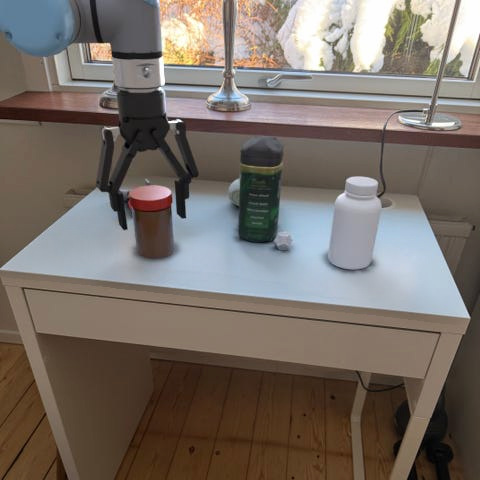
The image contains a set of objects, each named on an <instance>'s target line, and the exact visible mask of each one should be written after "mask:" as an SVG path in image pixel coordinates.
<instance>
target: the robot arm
mask: <svg viewBox="0 0 480 480" xmlns="http://www.w3.org/2000/svg"><path fill="white" fill-rule="evenodd" d="M161 23H162V22H161V6H160V0H0V32H1V33H2V34H3V37H5V38H6V40H7V41H8V42H9V43H10V44H11V45H12V46H13V47H14V48H15V49H17V50H18V51H19V52H21V53H23V54H25V55H28V56H31V57H37V58H49V57H51V56H57V55H59V54H61V53H62V52H63V51H65V50H66V49H67V48H68V47H69V46H71V45H73V44H101V45H103V44H109V47H110V49H111V51H110V52H111V58H112V60H111V61H112V70H113V79H114V85H115V86H116V87H117V88H118V89H117V90H116V92H115V94H116V95H115V96H116V102H117V110H118V118H119V121H118V125H117V126H113V127H107V126H105V125H104V126H101V128H100V135H101V141H102V143H101V149H100V155H99V162H98V168H97V175H96V180H95V186H96V187H97V188H98V190H99V192H101V193H108V197H109V204H110V208H111V209H112V210H113V212H114V213H117V220H118V221H117V222H118V226H120V228H121V229H122V230H123V231H128V229H129V228H128V222H127V221H128V220H127V213H126V205H125V201H124V197H123V193H122V192H121V191H120V190H121V187H122V184H123V182H124V179H125V178H126V175H127V173H128V171H129V168H130V167H131V164H132V161H133V159H134V158H135V157H136V156H137V153H138V152H139V153H143V152H146V151H158V150H159V151H160V152H161V154H162V155H163V157H164V158H165V160H166V162H167V163H168V164H169V166H170V167H171V168H172V170H173V171H174V173H175V174H176V175H177V177H178V179H174V193H175V195H174V196H175V207H176V208H175V210H176V211H175V212H176V215H178V217H179V218H181V219H182V220H183V219H187V209H186V200H187V199H188V200H189V198H190V184H191V183H192V179H195V178H196V179H197V178H198V177H199V174H200V173H199V170H198V167H197V164H196V161H195V158H194V155H193V152H192V149H191V146H190V144H189V140H188V138H187V124H186V123H185V122H184V121H183V120H181V119H179V118H176V119H174V120H171V121H169V119H168V117H167V101H166V91H165V90H164V89H163V88H162V87H164V85H165V72H164V58H163V40H162V24H161ZM169 131H170V132H171V134H173V135H174V139H175V141H176V144H177V147H178V149H179V153H180V155H181V158H182V161H183V164H184V167H185V168H184V167H183V166H182V164H181V162H180V161H179V160H178V158H177V157H176V155H175V154H174V153H173V150H172V149H171V147H170V145H169V144H168V142H167V141H166V140H165V138H166V136H167V135H168V133H169ZM119 136H120V137H122V139H123V140H124V142H123V144H122V147H121V152H120V155H119V157H118V159H117V162H116V164H115V166H114V169H113V171H112V173H111V168H112V162H113V156H114V151H115V143H116V142H117V141H118V137H119ZM110 175H111V176H110Z"/></svg>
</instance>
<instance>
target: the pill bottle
mask: <svg viewBox="0 0 480 480" xmlns="http://www.w3.org/2000/svg"><path fill="white" fill-rule="evenodd" d="M378 187H379V182H378V181H377V180H376V179H374V178H372V177H367V176H360V175H359V176H357V175H356V176H350V177H348V178H347V179H346V180H345V186H344V192H343V193H340V194H339V195H338V196H337V198H336V199H335V202H334V207H333V214H332V221H331V229H330V238H329V245H328V253H327V257H328V261H329V262H330V263H331V265H333V266H335V267H338V268H341V269H344V270H356V271H357V270H362V269H365V268H367V267H368V266H370V264H371V263H372V258H373V255H374V249H375V244H376V239H377V234H378V229H379V224H380V219H381V213H382V208H383V206H382V201H381V199H380V198H379V197H378V196H376V195H377V192H378V189H379V188H378Z"/></svg>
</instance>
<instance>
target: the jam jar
mask: <svg viewBox="0 0 480 480" xmlns="http://www.w3.org/2000/svg"><path fill="white" fill-rule="evenodd" d="M131 213H132V221H133V229H134V236H135V237H134V238H135V245H136V253H137V254H138V255H139V257H142V258H145V259H163V258H166V257H168V256H170V255H172V254H173V253H174V251H175V239H174V238H175V237H174V224H173V223H174V222H173V210H172V204H171V205H170V206H169V207H167V208H165V209H161V210H156V211H143V210H138V209H135V208H133V207H132V211H131Z"/></svg>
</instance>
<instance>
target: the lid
mask: <svg viewBox="0 0 480 480" xmlns="http://www.w3.org/2000/svg"><path fill="white" fill-rule="evenodd" d="M129 191H130V192H129V201H130V205H131V206H132V207H133V208H135V209H138V210H143V211H156V210H161V209H165V208H167V207H169V206H170V205H171V206H172V204H173V192H172V190H171V189H170V188H169V187H166V186H163V185H156V184H155V185H154V184H153V185H151V184H150V185H149V186H146V185H142V186H138V187H135V188H133V189H131V190H129Z"/></svg>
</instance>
